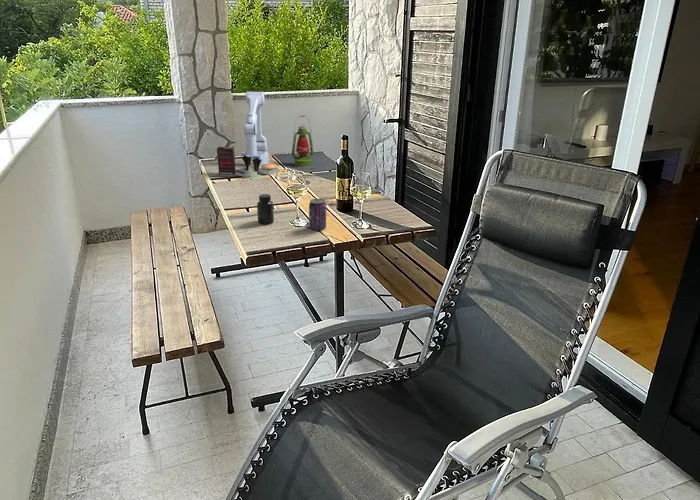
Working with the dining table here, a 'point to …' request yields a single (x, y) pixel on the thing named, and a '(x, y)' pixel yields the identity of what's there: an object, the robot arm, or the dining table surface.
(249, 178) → the mat
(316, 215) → the beverage can
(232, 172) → the supplement box
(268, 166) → the tan rounded dome
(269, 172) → the button housing
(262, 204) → the supplement bottle
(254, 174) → the cylinder
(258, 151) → the robot arm
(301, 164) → the lantern
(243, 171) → the dock
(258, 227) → the dining table surface
